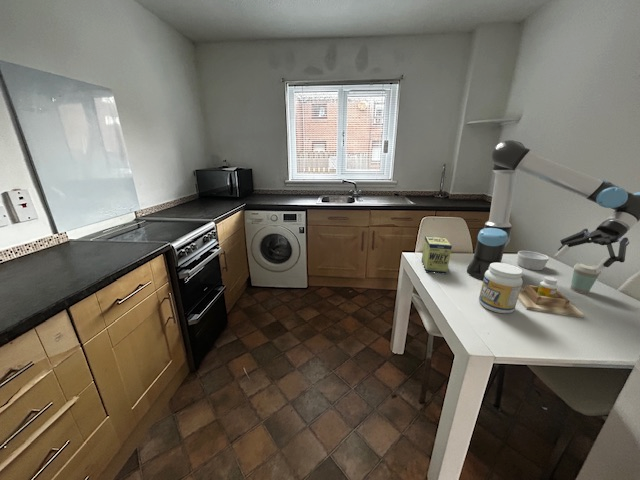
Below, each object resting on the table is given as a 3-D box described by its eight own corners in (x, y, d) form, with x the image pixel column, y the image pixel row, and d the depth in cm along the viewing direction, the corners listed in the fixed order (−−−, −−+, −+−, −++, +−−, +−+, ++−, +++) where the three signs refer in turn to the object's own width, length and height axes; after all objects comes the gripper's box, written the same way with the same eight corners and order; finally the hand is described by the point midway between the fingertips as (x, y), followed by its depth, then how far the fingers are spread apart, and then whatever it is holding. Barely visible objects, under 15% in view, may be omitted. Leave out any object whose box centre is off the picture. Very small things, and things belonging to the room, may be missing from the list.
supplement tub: (471, 301, 104) (479, 264, 99) (490, 295, 109) (499, 259, 104) (501, 317, 94) (512, 277, 88) (521, 310, 98) (533, 271, 93)
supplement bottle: (532, 296, 106) (538, 275, 103) (543, 295, 107) (550, 275, 103) (543, 303, 101) (551, 281, 98) (556, 302, 101) (563, 281, 98)
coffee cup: (598, 296, 109) (608, 271, 105) (575, 294, 111) (584, 269, 107) (582, 286, 117) (591, 263, 113) (561, 285, 119) (569, 261, 115)
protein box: (425, 272, 130) (429, 244, 126) (420, 261, 145) (424, 235, 140) (447, 274, 128) (452, 246, 123) (440, 262, 143) (444, 236, 138)
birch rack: (526, 309, 99) (529, 298, 98) (510, 289, 114) (512, 280, 112) (582, 317, 94) (587, 306, 93) (558, 296, 109) (561, 286, 107)
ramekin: (514, 259, 148) (517, 248, 146) (543, 265, 141) (547, 253, 138) (515, 267, 138) (518, 255, 135) (546, 273, 130) (550, 261, 128)
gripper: (664, 241, 89) (617, 283, 91) (581, 224, 112) (545, 257, 114) (660, 228, 86) (612, 271, 88) (576, 213, 109) (539, 247, 111)
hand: (574, 264), depth 101 cm, fingers open, 13 cm apart
